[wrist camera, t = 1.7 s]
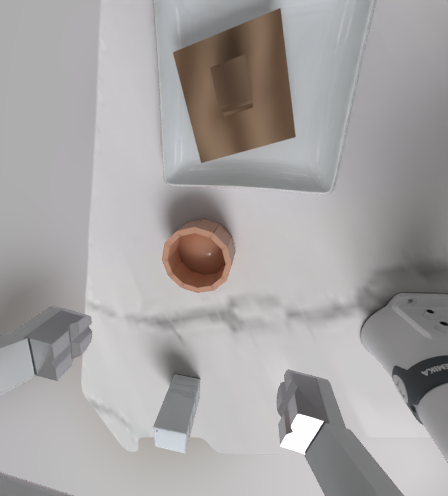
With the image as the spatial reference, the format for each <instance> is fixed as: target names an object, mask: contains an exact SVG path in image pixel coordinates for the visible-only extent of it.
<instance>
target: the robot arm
mask: <svg viewBox="0 0 448 496" xmlns="http://www.w3.org/2000/svg"><path fill="white" fill-rule="evenodd" d="M408 300H409V301H408ZM91 323H92V321H91V316H88V315H85V314H82V313H78V312H75V311H72V310H69V309H65V308H62V307H58V306H51V307H49V308H47V309H46V310H44V311H43V312H41V313H40V314H38V315H37V316H35V317H34V318H32V319H31V320H29V321H28V322H26V323H25V324H24V325H22V326H21V327H19V328H18V329H16V330H15V331H13V332H12V333H3V334H0V396H1V395H2V394H4V393H6V392H8V391H9V390H11V389H13V388H15V387H17V386H19V385H21V384H22V383H24V382H26V381H28V380H30V379H32V378H33V377H35V375H37V376H41V377H45V378H48V379H52V380H56V381H58V380H59V378H60V377H61V376H62V375H63V374H64V373H65V372H66V371H67V370H68V369H69V368H70V367H71V365H72V362H73V359H74V358H76V357H78V356H80V355H82V354H83V352H84V351H85V350H86V349H87V347H88V346H89V344H90V342H91V339H92V331H91V329H90V328H89V325H90V324H91ZM361 341H362V344H363V346H364V348H365V349H366V350H367V351H368V352H369V353H370V354H371V355H372V356H373V357H375V358H376V360H377V361H378V362H379V363H380V364H381V365H382V366H383V367H384V369H385V370H386V371H387V372H388V374H389V375H390V376H391V377H392V379H393V382H394V384H395V386H396V388H397V390H398V392H399V394H400V396H401V397H402V399H403V400H404V402H405V403H406V404H407V406H408V407H409V409H410V410H411V412H412V413H413V415H414V416H415V418H416V419H417V420H418V421H419V422H420V423H421V424H422V425H424V426H425V428H426V430H427V431H428V433H429V434H430V436H431V437H432V439H433V441H434V442H435V444H436V445H437V447H438V449H439V450H440V452H441V453H442V455H443V456H444V458H445V460H446V461H447V463H448V294H423V293H399V294H397V295H395V296H394V297H393V298H392V299H391V301H390V302H389V303H388V304H387V306H385V307H384V308H382V309H381V310H379V311H377V312H376V313H374V314H373V315H372V316H371V317H370V318H369V319H368V320H367V321H366V323H365V324H364V326H363V328H362V331H361ZM284 379H285V381H284V382H282V383H281V384H280V386H279V388H278V393H277V411H278V413H279V414H280V416H281V420H280V422H279V424H278V425H279V436H280V446H282V447H285V448H288V449H291V450H294V451H297V452H300V453H303V454H305V455H304V456H305V457H306V459H307V461H308V463H309V465H310V467H311V469H312V471H313V473H314V475H315V477H316V479H317V481H318V483H319V485H320V487H321V488H322V491H323V493H324V494H325V496H404V495H403V494H402V493H401V491H400V490H399V489H398V488H397V486H396V485H395V484H394V483H393V482H392V480H391V479H390V478H389V477H388V475H387V474H386V473H385V472H384V471H383V469H382V468H381V467H380V466H379V464H378V463H377V462H376V461H375V459H374V458H373V457H372V456H371V455H370V453H369V452H368V451H367V450H366V449H365V447H364V446H363V445H362V444H361V442H360V441H359V440H358V439H357V437H356V436H355V435H354V434H353V432H352V431H351V430H349V429H346V427H345V424H344V421H343V418H342V416H341V413H340V410H339V407H338V404H337V401H336V399H335V396H334V393H333V390H332V387H331V384H330V382H329V381H328V380H326V379H323V378H319V377H315V376H312V375H308V374H304V373H300V372H296V371H293V370H289V369H288V370H287V371H286V373H285V375H284ZM0 496H73V495H70V494H67V493H64V492H61V491H58V490H54V489H51V488H48V487H45V486H42V485H39V484H36V483H33V482H30V481H27V480H23V479H20V478H17V477H14V476H11V475H8V474H5V473H2V472H0Z"/></svg>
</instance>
